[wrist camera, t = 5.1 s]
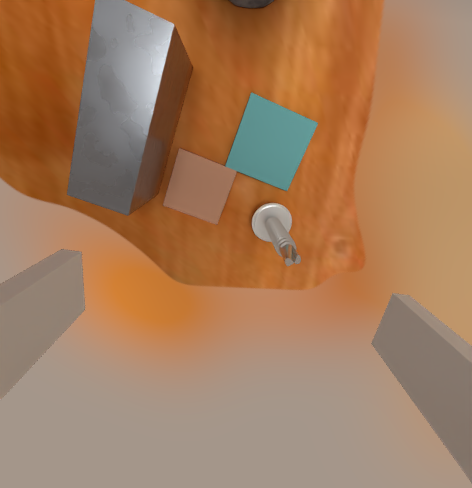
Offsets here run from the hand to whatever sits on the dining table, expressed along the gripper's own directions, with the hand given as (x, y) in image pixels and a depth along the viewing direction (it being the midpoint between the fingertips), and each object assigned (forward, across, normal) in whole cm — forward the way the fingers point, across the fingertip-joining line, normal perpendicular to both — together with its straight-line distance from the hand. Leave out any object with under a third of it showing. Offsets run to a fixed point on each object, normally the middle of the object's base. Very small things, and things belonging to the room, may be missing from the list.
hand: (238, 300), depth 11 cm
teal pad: (+22, +3, +7) cm, 23 cm away
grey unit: (+22, -10, +7) cm, 25 cm away
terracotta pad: (+22, -4, +1) cm, 22 cm away
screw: (+22, +5, -1) cm, 23 cm away
